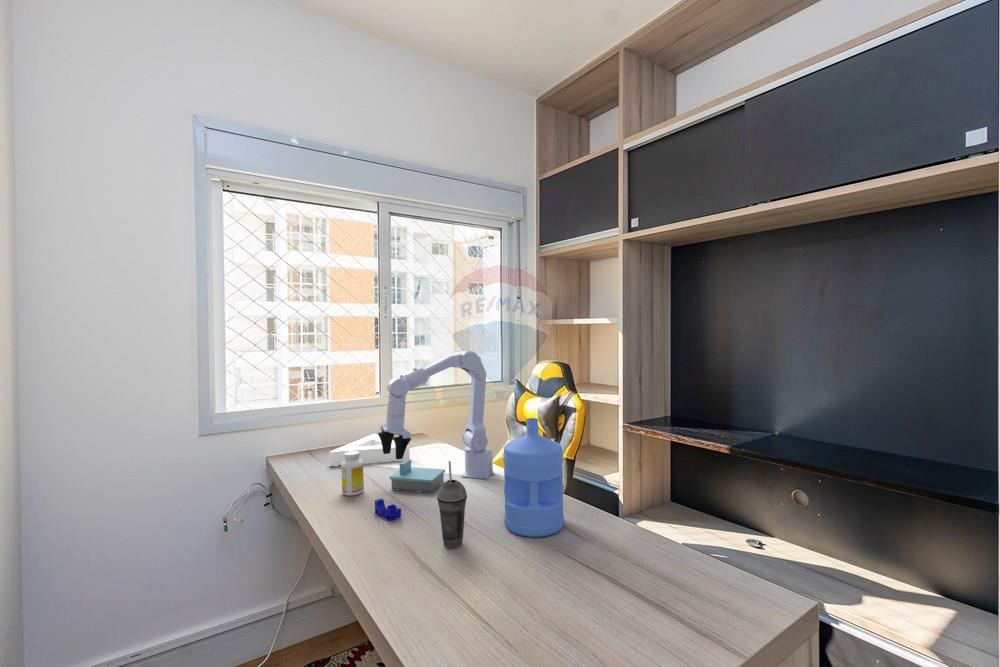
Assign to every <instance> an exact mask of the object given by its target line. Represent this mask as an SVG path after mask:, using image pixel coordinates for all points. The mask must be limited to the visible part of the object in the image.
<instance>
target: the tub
mask: <svg viewBox="0 0 1000 667" xmlns="http://www.w3.org/2000/svg"><path fill="white" fill-rule="evenodd" d="M390 480H391V490H392V489H399V490H398V491H401V490H409V491H408V492H412V491H419V492H418V493H424V492H431V493H430V494H432V493H434V492H435V491H436V490H437V489H438V488H439V487H440V486H441V485H442V484H443V482H445V481H444V480H445V478H444V473H443V474H442V475H441V476H439V477H438V478H437V479H436V480H435V481H433V482H432V483H429V482H417V481H404V480H392V479H390ZM441 483H442V484H441ZM440 484H441V485H440ZM439 485H440V486H439ZM438 486H439V487H438ZM437 487H438V488H437ZM436 488H437V489H436ZM435 489H436V490H435ZM434 490H435V491H434ZM420 491H421V492H420Z"/></svg>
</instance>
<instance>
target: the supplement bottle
mask: <svg viewBox="0 0 1000 667" xmlns="http://www.w3.org/2000/svg"><path fill="white" fill-rule="evenodd" d="M359 456H360V453H359V451H349V452H346V453H344V458H345V461H343V462H342V464H341V466H340V468H341V469H340V470H341V492H342V494H343V495H344V496H348V497H349V496H350V497H352V496H353V497H354V496H357V495H360V494H362V493H363V492H364V491H365V484H364V480H365V479H364V464H363V461H362V460H361V459H359Z"/></svg>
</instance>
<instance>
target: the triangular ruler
mask: <svg viewBox="0 0 1000 667" xmlns="http://www.w3.org/2000/svg"><path fill="white" fill-rule="evenodd" d="M349 451H359V453H360V456H359V459H361V460H362V461H363V465H365V464H364V463H375V464H377V463H376V462H388V463H390V462H389V461H400V462H403V461H404V460H406V459H407V460H411V454H410V453H411V452H410V445H407V447H406V450H405V453H404V456H403V459H396V448H395V443H394V440H392V445H391V451H390V453H389V454H383V448H382V443H381V440H380V437H379V435H378V433H377V434H376V433H372V434H370V435H367V436H365V437H363V438H360V439H358V440H356V441H353V442H349V443H347V444H345V445H343V446H340V447H338V448H335V449H333V450H331V451H329V452H328V457H329V458H328V463H329V466H334V465H341V464H342V462H343V461H345V458H344V453H346V452H349Z"/></svg>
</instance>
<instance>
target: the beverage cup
mask: <svg viewBox="0 0 1000 667" xmlns="http://www.w3.org/2000/svg"><path fill="white" fill-rule="evenodd" d="M451 464H452V462H451V460H449V461H448V476H449V477H448V478H449V479H447V480H446V481H444V483H442V484H441V485H440V486H439V487H438V488H439V489H438V491H437V497H436V499H437V504H438V507H439V516H440V524H441V534H442V542H443V547H444V546H445V547H447V548H446V549H448V548H456V549H459V548H461V547H462V546H463V540H464V530H465V511H466V510H465V509H466V503H467V498H468V494H467V490H466V488H465V486H464V484H463V483H461V482H460V481H459V480H456V479H452V466H451ZM460 546H461V547H460ZM445 547H444V548H445ZM458 547H459V548H458Z"/></svg>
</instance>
